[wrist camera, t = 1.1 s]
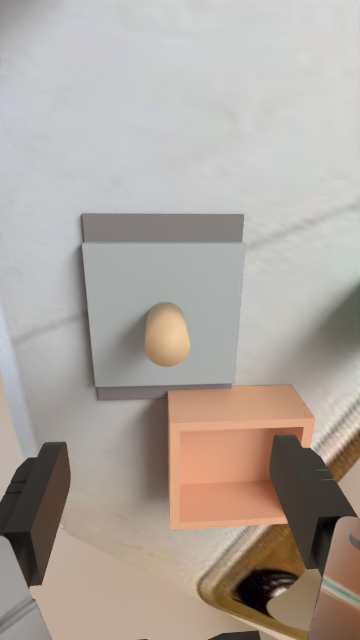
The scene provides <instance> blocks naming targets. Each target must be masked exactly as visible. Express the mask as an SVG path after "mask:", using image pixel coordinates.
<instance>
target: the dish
mask: <svg viewBox="0 0 360 640" xmlns="http://www.w3.org/2000/svg"><path fill="white" fill-rule="evenodd" d="M314 422H315V417H314V416H313V414H312V413H311V411H310V410H309V409H308V407H307V406H306V404H305V403H304V402H303V400H302V399H301V397H300V396H299V395H298V393H297V392H296V390H295V389H294V387H293V386H292V385H261V386H231V389H206V390H172V391H168V493H169V517H170V530H180V529H198V528H215V527H233V526H250V525H267V524H285V523H288V522H287V519H286V517H285V514H284V512H283V509H282V507H281V504H280V502H279V499H278V497H277V494H276V492H275V489H274V487H273V484H272V481H271V478H270V471H269V464H270V457H271V450H272V443H273V437H274V435H285V434H294V435H295V436H296V437H297V439H298V440H299V442H300V444H301V446H302V447H303V448H310V444H311V439H312V433H313V428H314Z"/></svg>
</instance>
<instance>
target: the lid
mask: <svg viewBox="0 0 360 640" xmlns="http://www.w3.org/2000/svg"><path fill="white" fill-rule="evenodd" d="M82 251H83V262H84V273H85V283H86V294H87V305H88V315H89V326H90V337H91V348H92V358H93V369H94V380H95V387H117V386H152V385H187V384H222V383H235V371H236V358H237V345H238V332H239V319H240V306H241V293H242V280H243V267H244V254H245V243H243V242H83V243H82Z"/></svg>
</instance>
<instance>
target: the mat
mask: <svg viewBox="0 0 360 640" xmlns="http://www.w3.org/2000/svg"><path fill="white" fill-rule="evenodd" d="M82 219H83V230H84V241H85V242H242V236H243V222H244V215H243V214H82ZM231 385H232V383H222V384H187V385H152V386H117V387H98V396H99V400H125V399H157V398H168V391H172V390H206V389H231Z"/></svg>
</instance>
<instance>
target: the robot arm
mask: <svg viewBox="0 0 360 640" xmlns="http://www.w3.org/2000/svg"><path fill="white" fill-rule="evenodd" d="M269 471H270V478H271V481H272V484H273V487H274V489H275V492H276V494H277V497H278V499H279V502H280V504H281V507H282V509H283V512H284V514H285V517H286V519H287V522H288V524H289V527H290V529H291V532H292V534H293V537H294V539H295V542H296V544H297V547H298V549H299V552H300V554H301V557H302V559H303V562H304V564H305V567H306V569H318V570H319V572H320V574H321V577H322V580H321V584H320V588H319V592H318V597H317V601H316V605H315V609H314V613H313V617H312V621H311V625H310V630H309V634H308V638H307V640H360V518H358V516H357V515H356V513H355V512H354V510H353V508H352V507H351V505H350V503H349V502H348V500H347V499H346V497H345V495H344V494H343V492H342V490H341V489H340V487H339V486H338V484H337V482H336V481H334V478H333V476H332V474H331V473H330V471H328V468H327V466H326V465H325V463H324V461H323V460H322V458H321V457H320V456H319V455H318V454H316V453H315V452H314V451H313V450H312V449H311V448H303V447H302V446H301V444H300V442H299V440H298V439H297V437H296V436H295V435H294V434H285V435H274V437H273V443H272V450H271V457H270V464H269ZM70 479H71V474H70V466H69V458H68V451H67V444H66V442H45V443H44V444H43V446H42V448H41V450H40V452H39V454H38V457H34V458H28V459H27V460H25V461H24V462H23V464H22V465H21V466H19V468H17V470H16V472H15V474H14V476H13V478H12V480H11V483H10V484H9V486H8V488H7V490H6V493H5V495H4V496H3V498H2V500H1V502H0V640H52V638H51V636H50V633H49V631H48V628H47V626H46V623H45V621H44V619H43V616H42V614H41V611H40V609H39V607H38V604H37V602H36V600H35V599H33V598H32V596H31V593H30V591H29V588H30V586H35V585H42V582H43V578H44V575H45V571H46V568H47V565H48V561H49V558H50V554H51V551H52V547H53V544H54V540H55V537H56V533H57V530H58V527H59V523H60V520H61V516H62V513H63V509H64V506H65V502H66V499H67V495H68V492H69V488H70ZM142 640H143V639H142ZM144 640H147V639H144ZM208 640H260V635H259V631H247V632H233V633H222V634H220V635H218V636H215V637H213V638H211V639H208Z"/></svg>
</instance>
